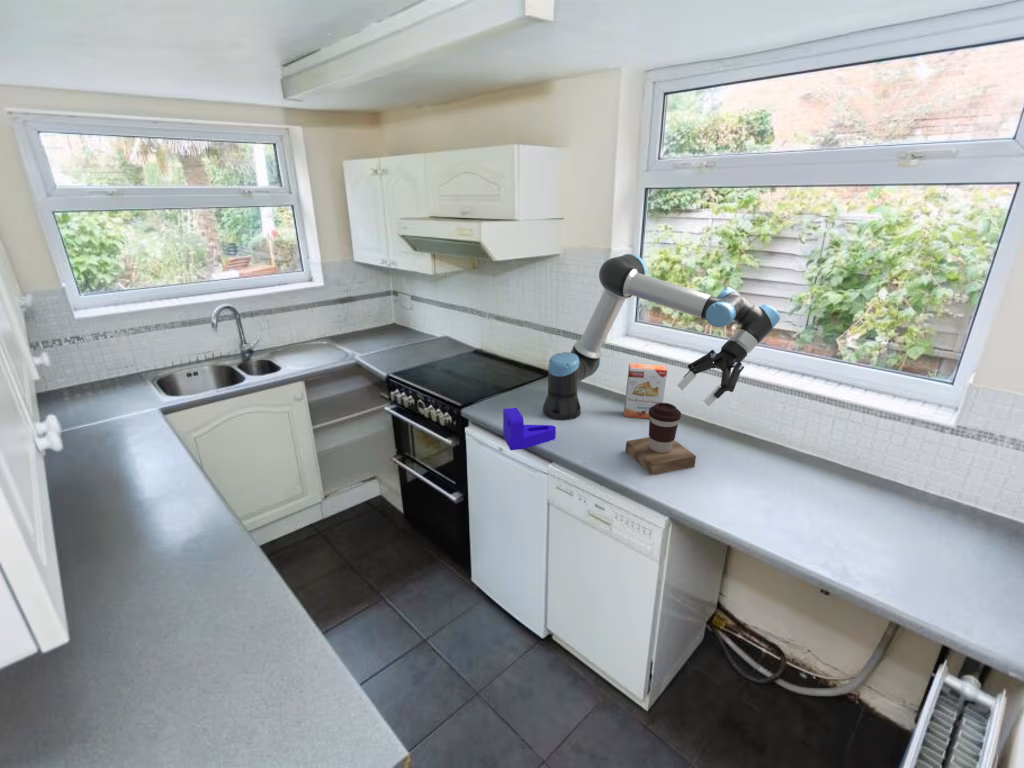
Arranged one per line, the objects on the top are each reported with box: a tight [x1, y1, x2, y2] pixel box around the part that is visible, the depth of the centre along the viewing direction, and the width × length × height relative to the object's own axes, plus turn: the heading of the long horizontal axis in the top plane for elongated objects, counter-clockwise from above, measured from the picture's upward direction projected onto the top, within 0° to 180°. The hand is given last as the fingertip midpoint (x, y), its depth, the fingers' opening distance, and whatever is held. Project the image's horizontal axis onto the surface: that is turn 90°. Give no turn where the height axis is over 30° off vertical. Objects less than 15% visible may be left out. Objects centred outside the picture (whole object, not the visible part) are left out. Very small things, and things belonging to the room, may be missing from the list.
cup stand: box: [625, 436, 697, 476], centre depth 167 cm, size 16×16×4 cm
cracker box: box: [623, 362, 668, 420], centre depth 195 cm, size 14×6×21 cm, turn 80°
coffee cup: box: [648, 402, 682, 453], centre depth 164 cm, size 10×10×15 cm
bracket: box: [502, 407, 557, 451], centre depth 178 cm, size 18×11×12 cm, turn 104°
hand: (692, 395), depth 162 cm, fingers open, 13 cm apart
